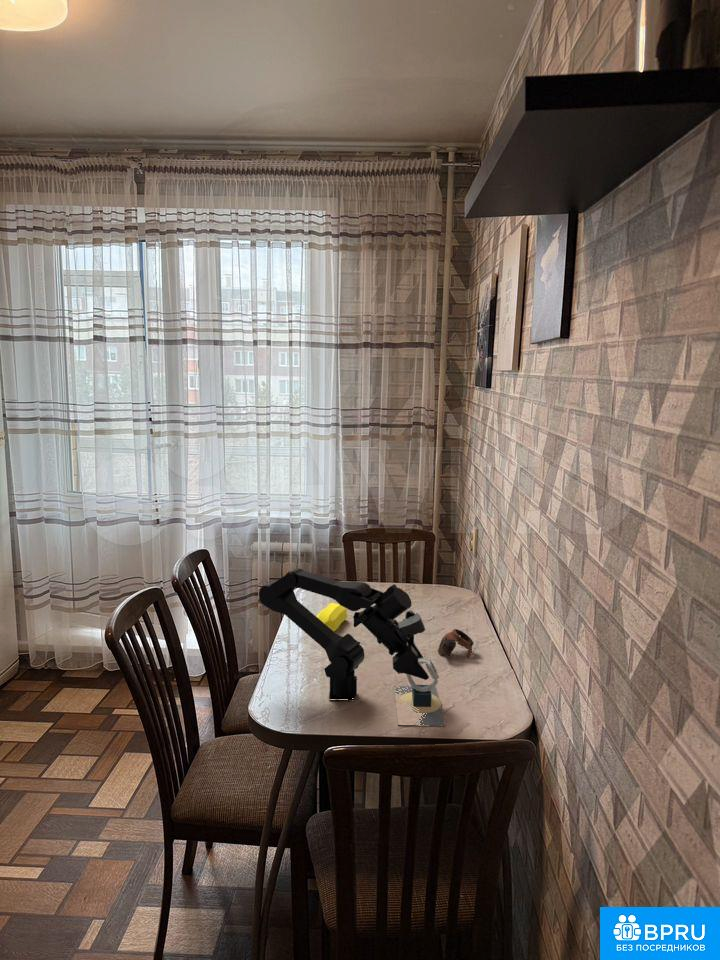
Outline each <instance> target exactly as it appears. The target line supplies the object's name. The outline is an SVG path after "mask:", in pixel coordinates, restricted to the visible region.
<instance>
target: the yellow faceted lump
mask: <svg viewBox="0 0 720 960" xmlns="http://www.w3.org/2000/svg"><path fill="white" fill-rule="evenodd" d="M347 611H348V610H347V608H345V607H343V606H341V605H339V603H335V602H331V603H329V604H328V605H327V606H325V607H324V608H323V609H321V611H319V613H318V614H317V615H315V616H316V617H317V618H318V619H320V620H321V621H322V622H323V623H324V624H325V625H327V626H328V627H329V628H330V629H331V630H332V631H334V632H335V631H337V629H338V628H339V627H340V626H341V624H342V623H343V622H345V621H346V620H347V619H348V612H347Z"/></svg>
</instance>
